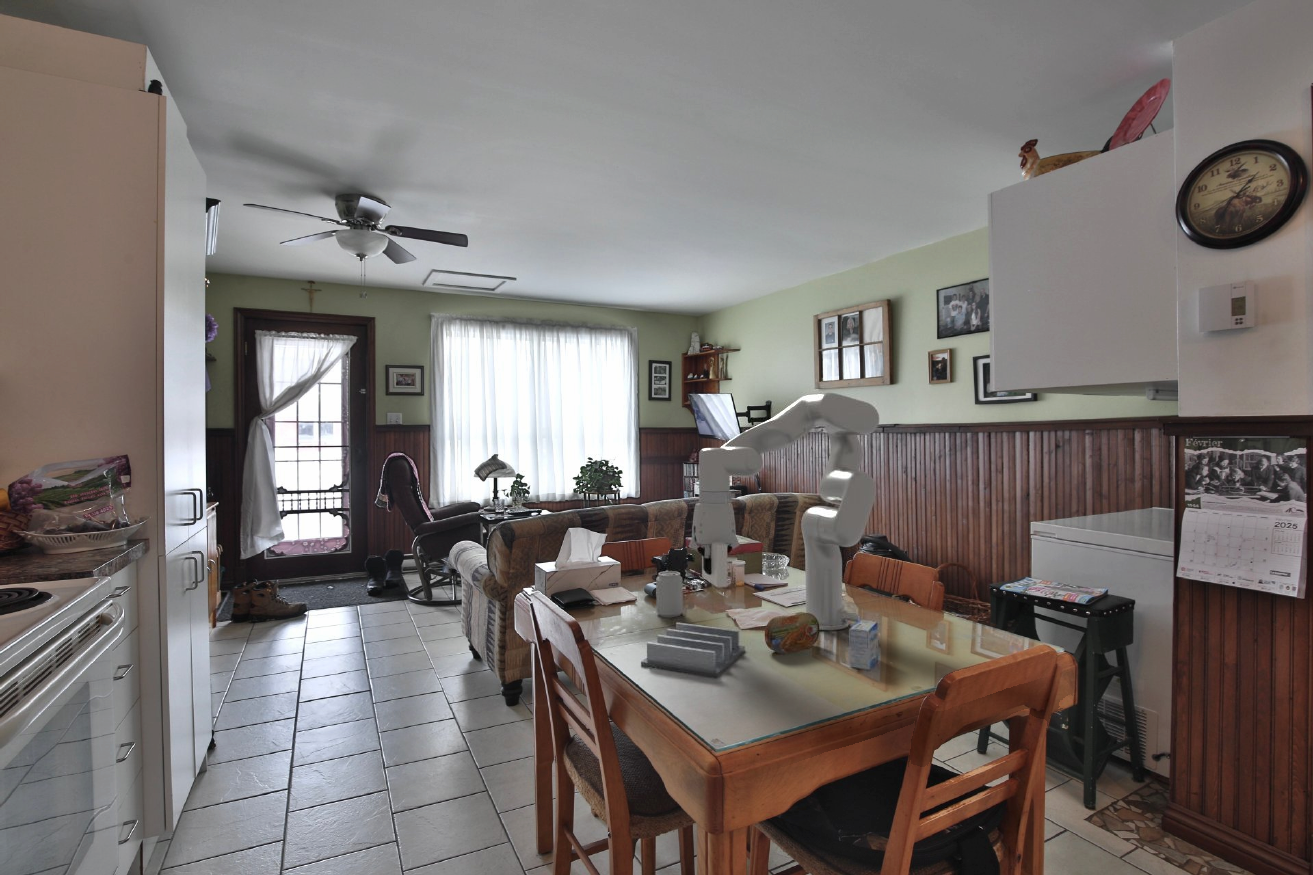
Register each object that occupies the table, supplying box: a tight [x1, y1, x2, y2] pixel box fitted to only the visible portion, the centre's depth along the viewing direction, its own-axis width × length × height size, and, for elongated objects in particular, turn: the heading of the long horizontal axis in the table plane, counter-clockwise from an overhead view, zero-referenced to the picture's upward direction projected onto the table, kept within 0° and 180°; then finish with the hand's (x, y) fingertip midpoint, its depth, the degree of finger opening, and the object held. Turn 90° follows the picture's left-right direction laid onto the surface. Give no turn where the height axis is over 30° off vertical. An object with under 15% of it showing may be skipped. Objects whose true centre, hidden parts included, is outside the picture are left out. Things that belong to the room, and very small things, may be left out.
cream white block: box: [701, 542, 728, 588], centre depth 159 cm, size 2×12×10 cm, turn 13°
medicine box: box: [848, 619, 879, 671], centre depth 145 cm, size 8×4×9 cm, turn 148°
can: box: [655, 570, 684, 618], centre depth 186 cm, size 8×8×12 cm
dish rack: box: [640, 621, 746, 680], centre depth 150 cm, size 18×19×5 cm
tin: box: [764, 611, 821, 655], centre depth 155 cm, size 15×3×8 cm, turn 117°
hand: (714, 572), depth 159 cm, fingers closed on cream white block, 2 cm apart
